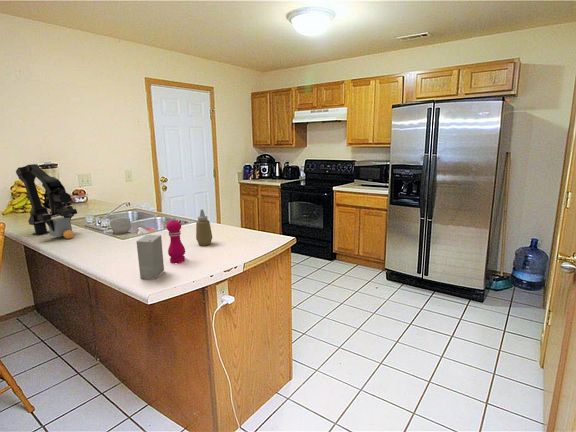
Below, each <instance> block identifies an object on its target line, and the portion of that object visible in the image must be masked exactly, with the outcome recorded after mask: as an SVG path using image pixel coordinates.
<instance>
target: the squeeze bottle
mask: <svg viewBox="0 0 576 432" xmlns="http://www.w3.org/2000/svg"><path fill="white" fill-rule="evenodd" d="M211 227H212V226H211V222H210V220H208V216H207V215H205V212H204V209H200V213H199V216H197V221H196V227H195V228H196V229H195V234H196V235H195V238H196V241H197V243H198V245H199V246H202V247H203V246H204V247H205V246H209V245H211V243H212V241H213V233H212V228H211Z"/></svg>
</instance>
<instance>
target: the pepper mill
mask: <svg viewBox="0 0 576 432" xmlns="http://www.w3.org/2000/svg"><path fill="white" fill-rule="evenodd" d="M181 228H182V223H181V222H180V220H179V221H178V220H176V218H175V216H172V217H171V218H170V221H168V222H167V224H166V230H167V231H168V236H169V239H170V242H169V246H168V249H167V255H168V256H169V257H170V258H169V262H170V263H171V264H173V263H174V264H175V263H177V264H182V263H184V262H185V261H186V257H185V254H186V248H185V246H184V245H183V243H182V241H181V234H182V233H181ZM174 264H173V265H174ZM175 265H176V264H175Z"/></svg>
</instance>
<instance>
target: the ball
mask: <svg viewBox="0 0 576 432" xmlns="http://www.w3.org/2000/svg"><path fill="white" fill-rule="evenodd" d="M74 236H75V233H74V231H73V229H72V230H66V231H64V233H63V236H62V237H64V238H65V239H67V240H68V239H69V240H70V239H72V238H74Z"/></svg>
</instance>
